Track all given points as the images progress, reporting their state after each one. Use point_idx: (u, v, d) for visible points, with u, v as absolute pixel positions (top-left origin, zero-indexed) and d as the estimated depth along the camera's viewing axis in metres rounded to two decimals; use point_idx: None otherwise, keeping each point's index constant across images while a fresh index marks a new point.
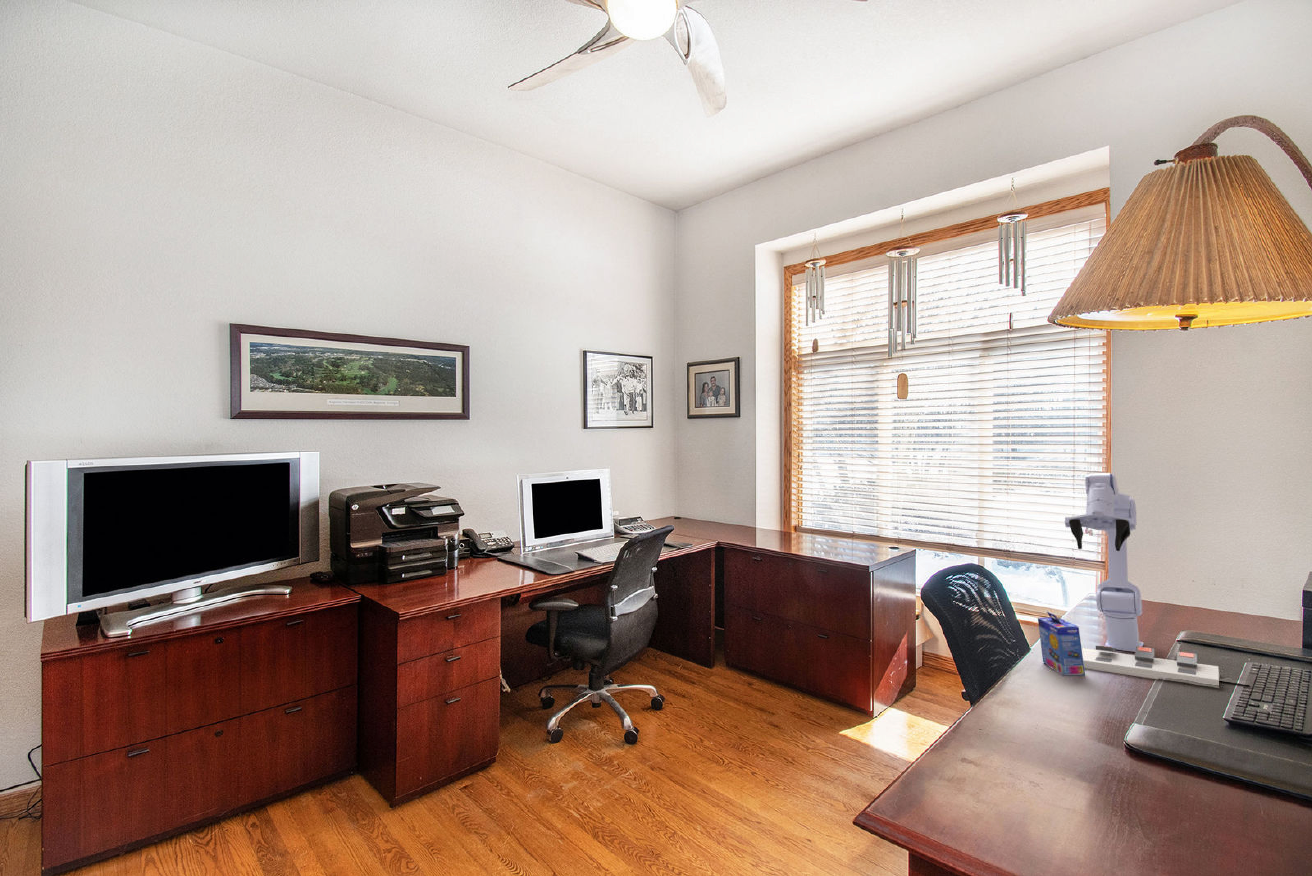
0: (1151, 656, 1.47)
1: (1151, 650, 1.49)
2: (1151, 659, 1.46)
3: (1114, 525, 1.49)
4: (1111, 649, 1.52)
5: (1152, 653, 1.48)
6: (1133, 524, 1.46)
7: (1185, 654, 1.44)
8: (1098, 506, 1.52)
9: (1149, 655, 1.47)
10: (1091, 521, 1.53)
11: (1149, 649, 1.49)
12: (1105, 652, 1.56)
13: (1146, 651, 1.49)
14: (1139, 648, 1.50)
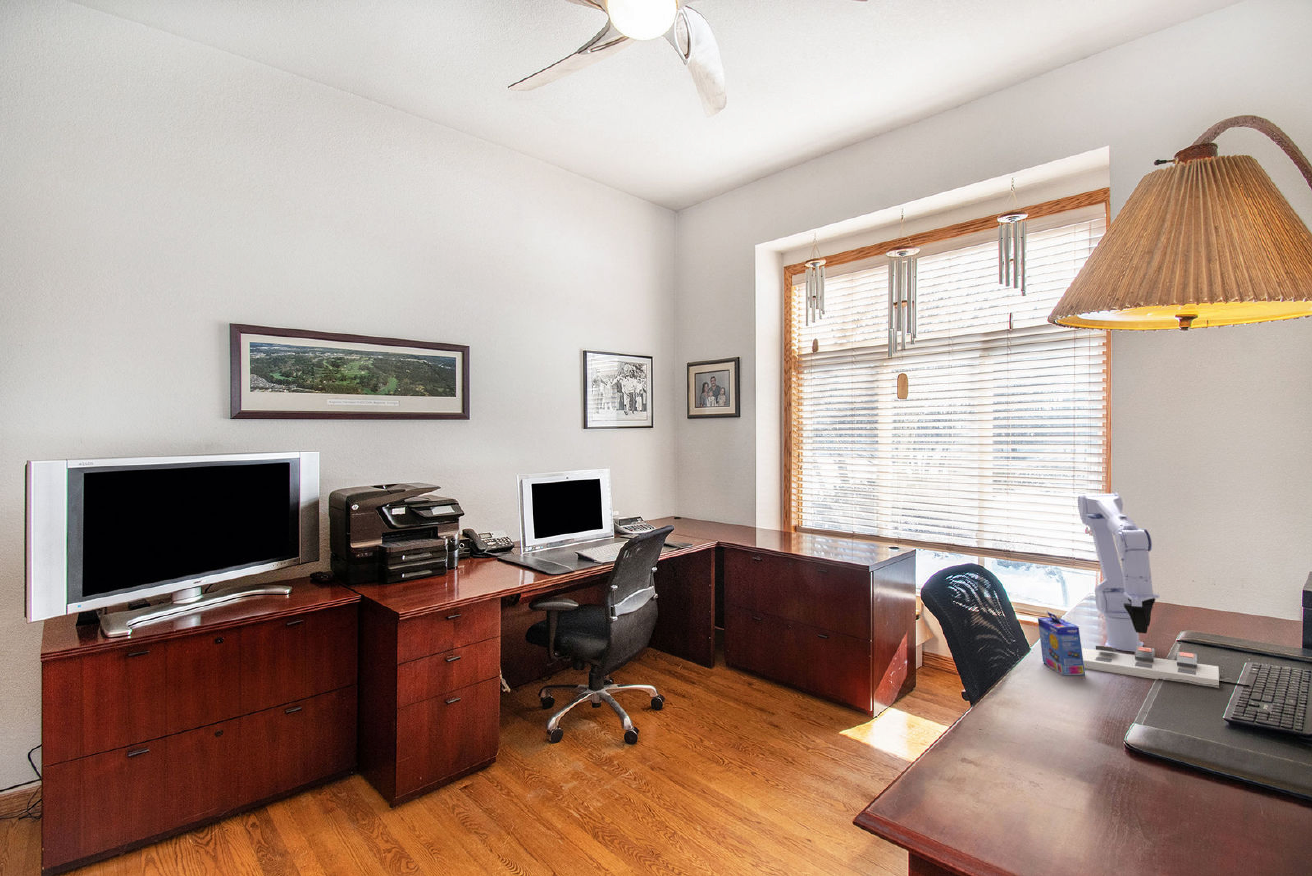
0: (1151, 656, 1.47)
1: (1151, 650, 1.49)
2: (1151, 659, 1.46)
3: None
4: (1111, 649, 1.52)
5: (1152, 653, 1.48)
6: None
7: (1185, 654, 1.44)
8: None
9: (1149, 655, 1.47)
10: None
11: (1149, 649, 1.49)
12: (1105, 652, 1.56)
13: (1146, 651, 1.49)
14: (1139, 648, 1.50)
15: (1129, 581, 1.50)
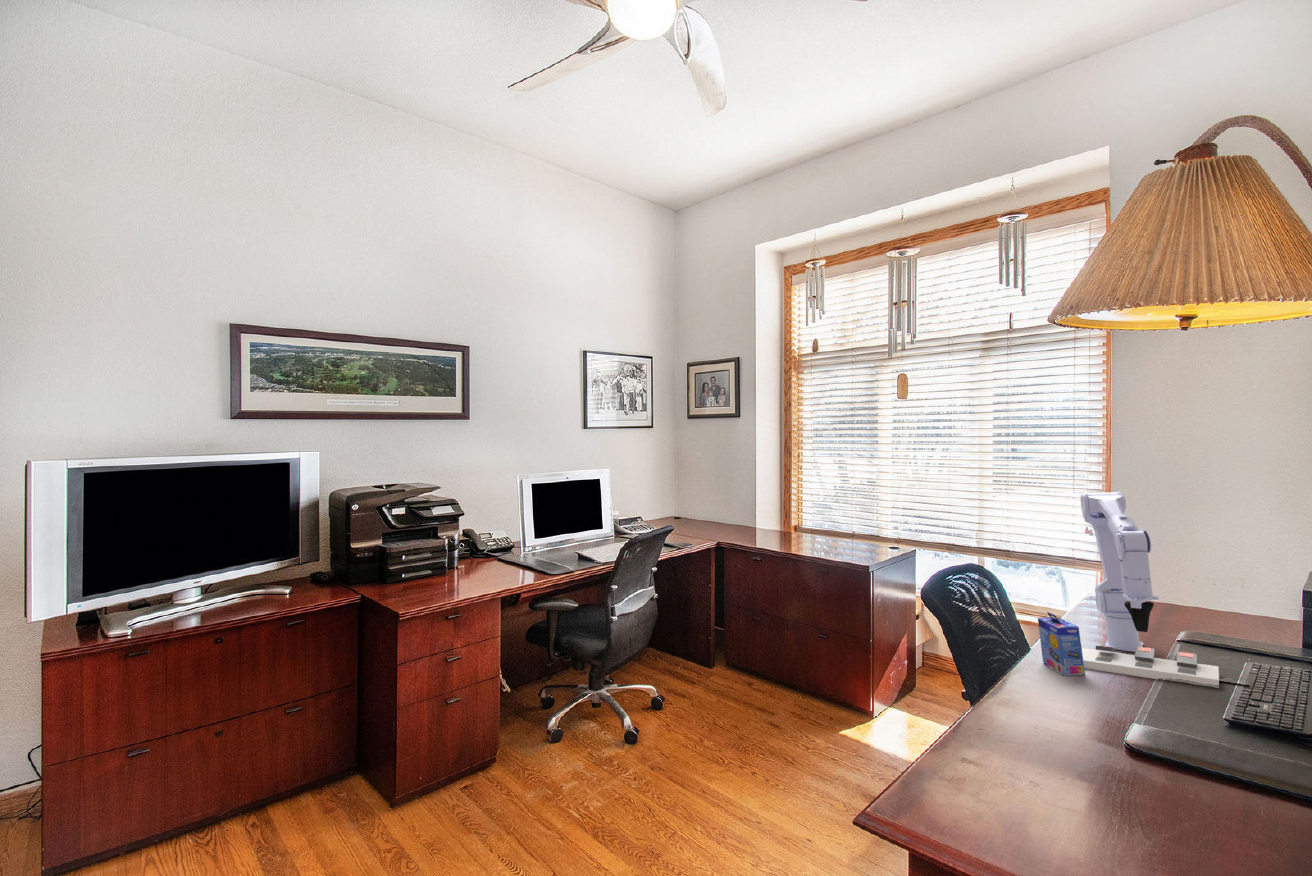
0: (1151, 656, 1.47)
1: (1151, 650, 1.49)
2: (1151, 659, 1.46)
3: None
4: (1111, 649, 1.52)
5: (1152, 653, 1.48)
6: None
7: (1185, 654, 1.44)
8: (1151, 587, 1.48)
9: (1149, 655, 1.47)
10: None
11: (1149, 649, 1.49)
12: (1105, 652, 1.56)
13: (1146, 651, 1.49)
14: (1139, 648, 1.50)
15: (1128, 582, 1.49)
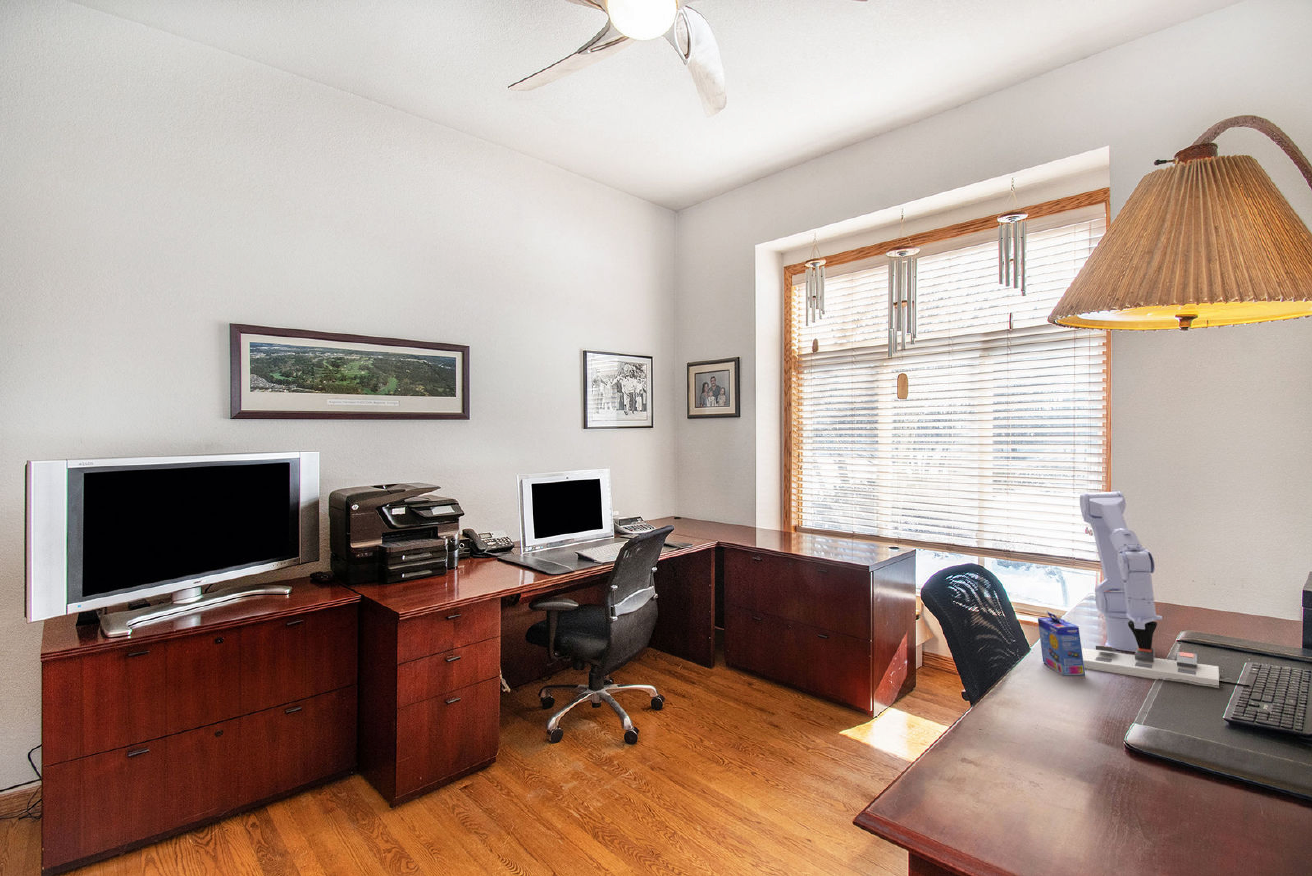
0: (1151, 656, 1.47)
1: (1151, 650, 1.49)
2: (1151, 659, 1.46)
3: None
4: (1111, 649, 1.52)
5: (1152, 653, 1.48)
6: None
7: (1185, 654, 1.44)
8: (1154, 607, 1.49)
9: (1149, 655, 1.47)
10: None
11: None
12: (1105, 652, 1.56)
13: (1146, 651, 1.49)
14: (1139, 648, 1.50)
15: (1132, 603, 1.50)
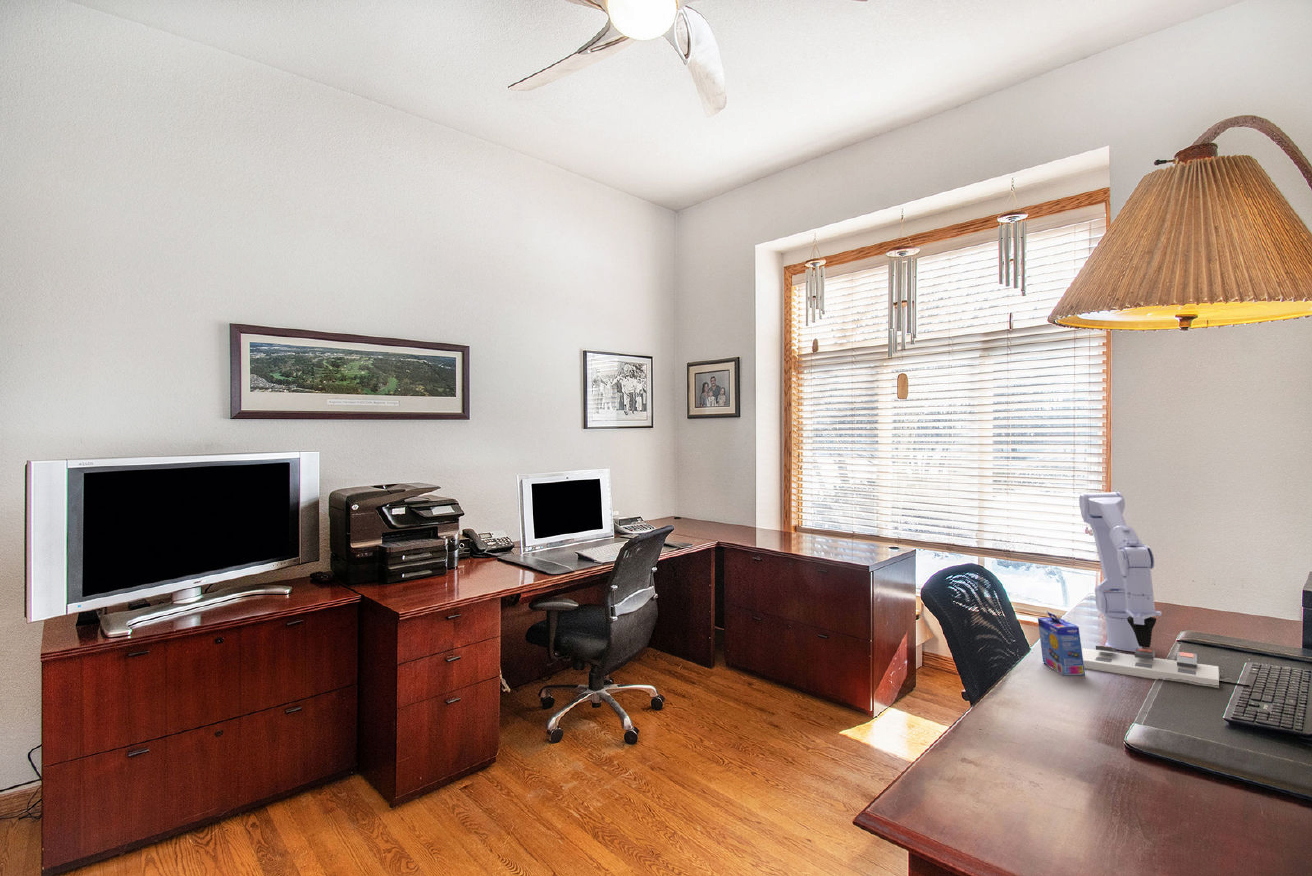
0: (1151, 654, 1.47)
1: (1151, 651, 1.49)
2: (1151, 656, 1.46)
3: None
4: (1111, 649, 1.52)
5: (1152, 653, 1.48)
6: None
7: (1185, 654, 1.44)
8: None
9: (1149, 653, 1.47)
10: None
11: (1149, 650, 1.49)
12: (1105, 652, 1.56)
13: (1146, 651, 1.49)
14: (1139, 649, 1.51)
15: (1131, 598, 1.50)
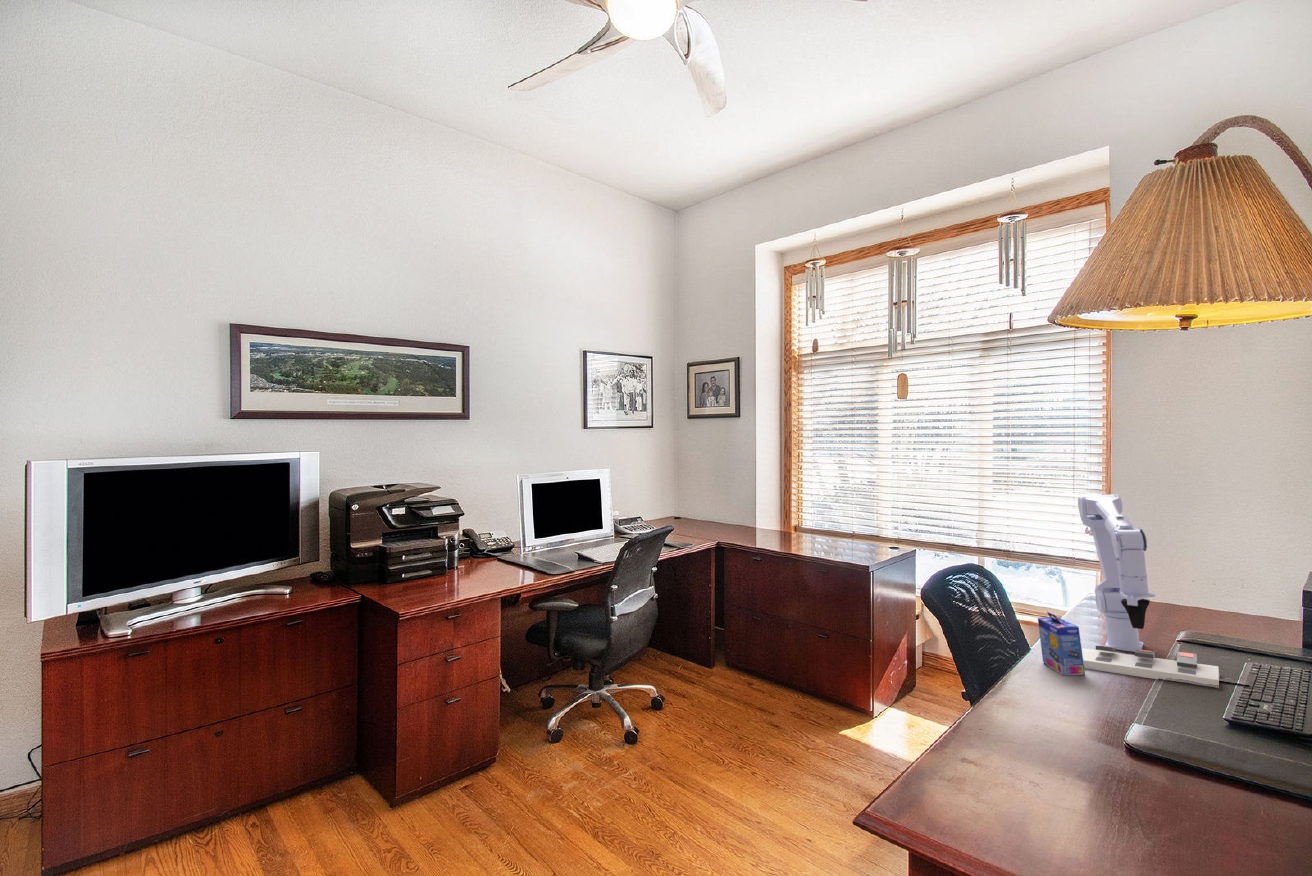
0: (1151, 653, 1.47)
1: (1152, 652, 1.49)
2: (1151, 655, 1.46)
3: None
4: (1111, 649, 1.52)
5: (1152, 652, 1.48)
6: None
7: (1185, 654, 1.44)
8: (1147, 584, 1.50)
9: (1149, 653, 1.47)
10: None
11: (1149, 651, 1.49)
12: (1105, 652, 1.56)
13: (1146, 651, 1.49)
14: (1139, 650, 1.51)
15: (1125, 580, 1.52)
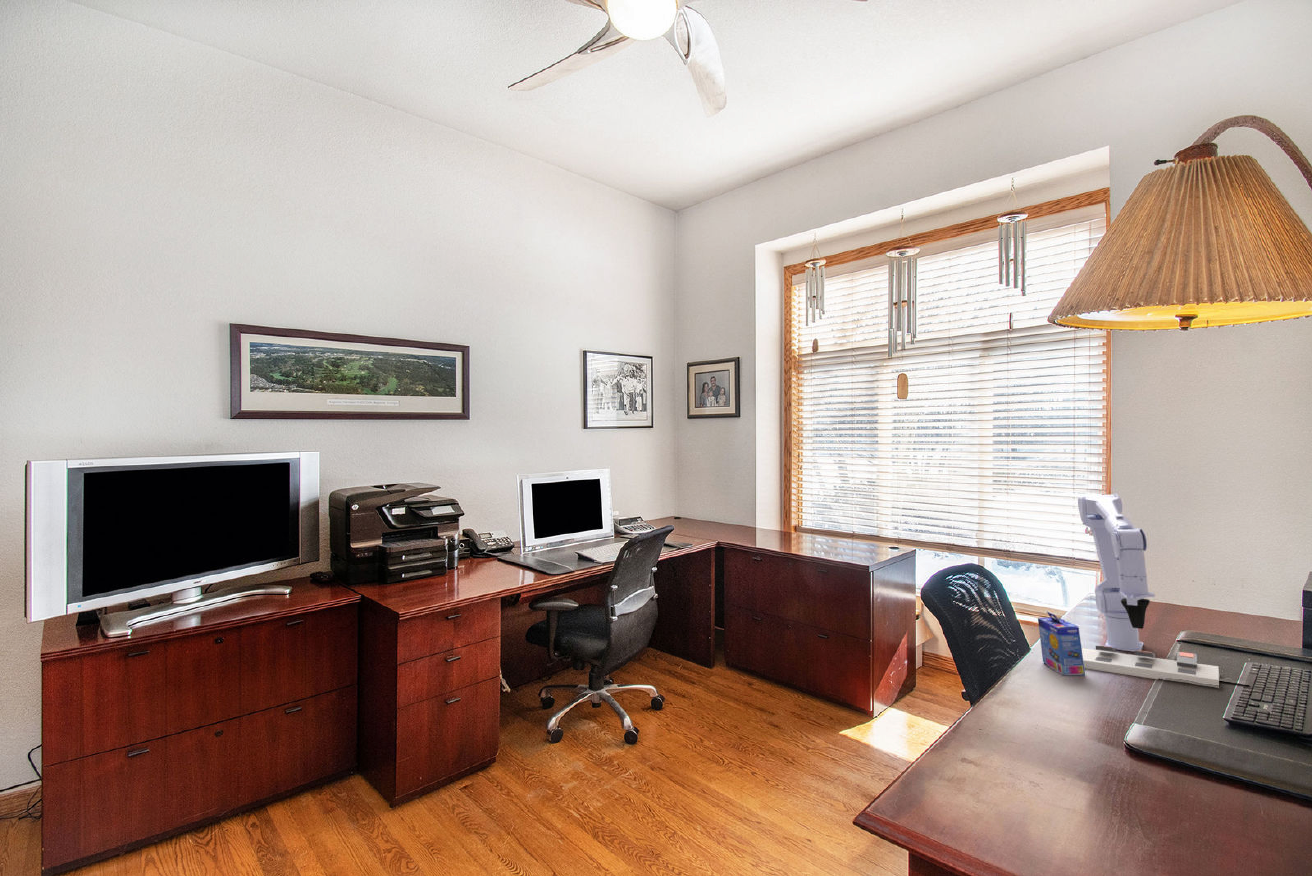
0: (1151, 653, 1.47)
1: (1152, 652, 1.49)
2: (1151, 654, 1.46)
3: None
4: (1111, 649, 1.52)
5: (1152, 652, 1.48)
6: None
7: (1185, 654, 1.44)
8: None
9: (1149, 652, 1.48)
10: None
11: None
12: (1105, 652, 1.56)
13: (1146, 651, 1.49)
14: (1139, 650, 1.51)
15: (1125, 580, 1.52)
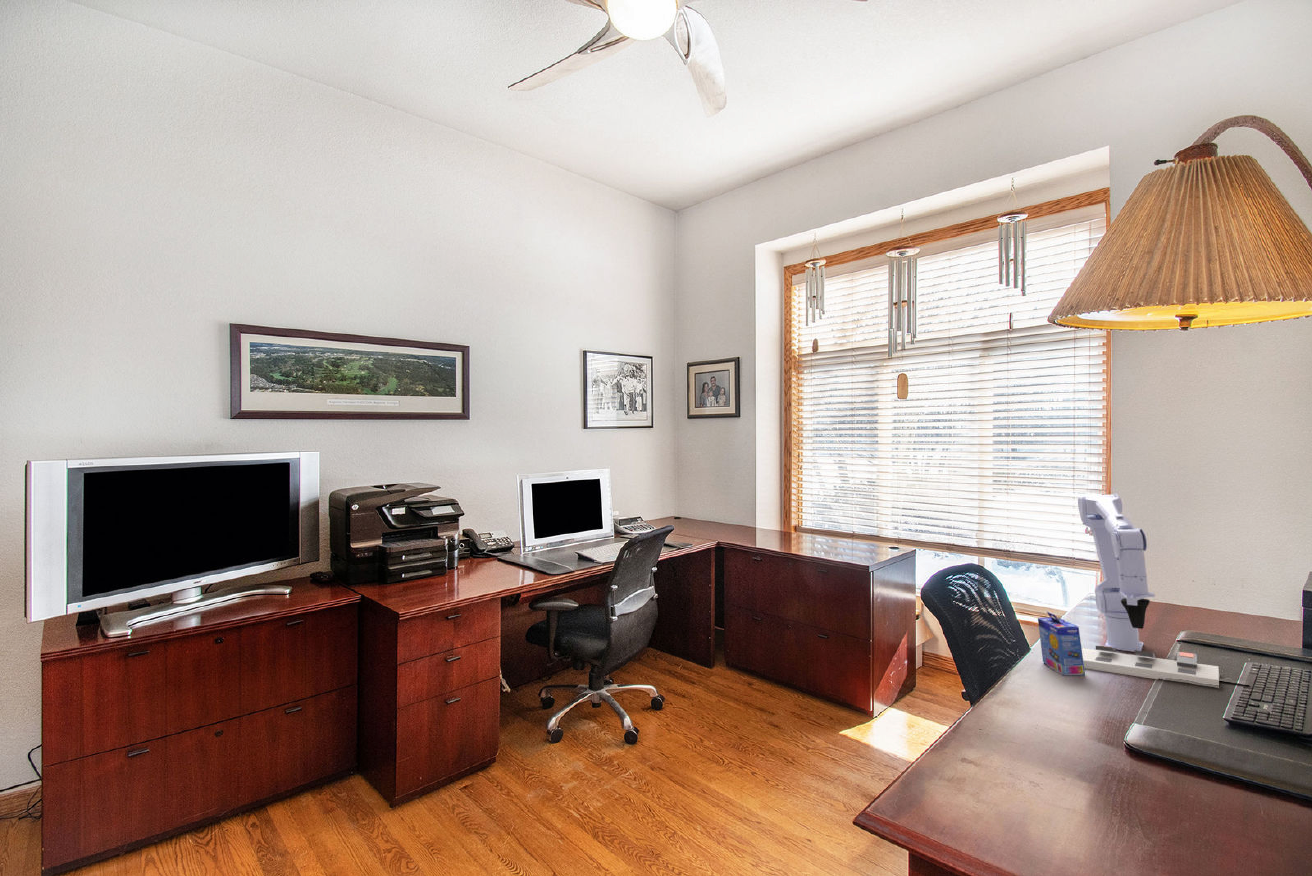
0: (1151, 652, 1.47)
1: None
2: (1151, 653, 1.46)
3: None
4: (1111, 649, 1.52)
5: (1152, 652, 1.48)
6: None
7: (1185, 654, 1.44)
8: None
9: (1149, 652, 1.48)
10: None
11: None
12: (1105, 652, 1.56)
13: None
14: None
15: (1125, 580, 1.52)
